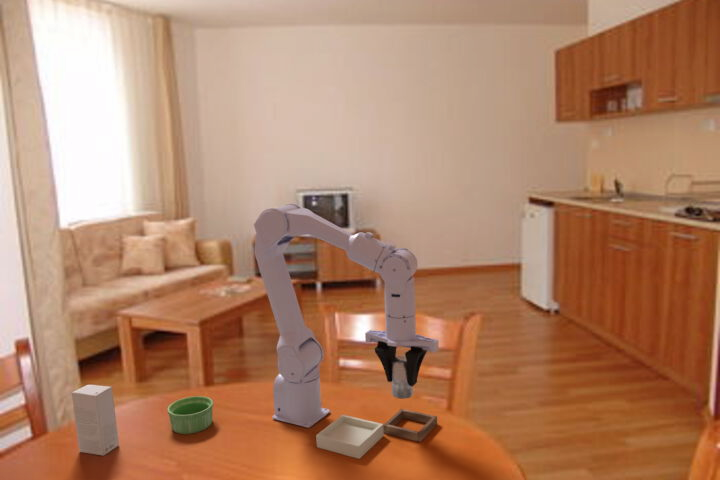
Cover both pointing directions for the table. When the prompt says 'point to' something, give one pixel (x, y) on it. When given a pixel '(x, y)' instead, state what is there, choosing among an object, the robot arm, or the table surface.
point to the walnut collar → (407, 433)
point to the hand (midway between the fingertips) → (402, 382)
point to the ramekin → (190, 414)
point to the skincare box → (95, 419)
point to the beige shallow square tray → (350, 436)
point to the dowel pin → (400, 378)
